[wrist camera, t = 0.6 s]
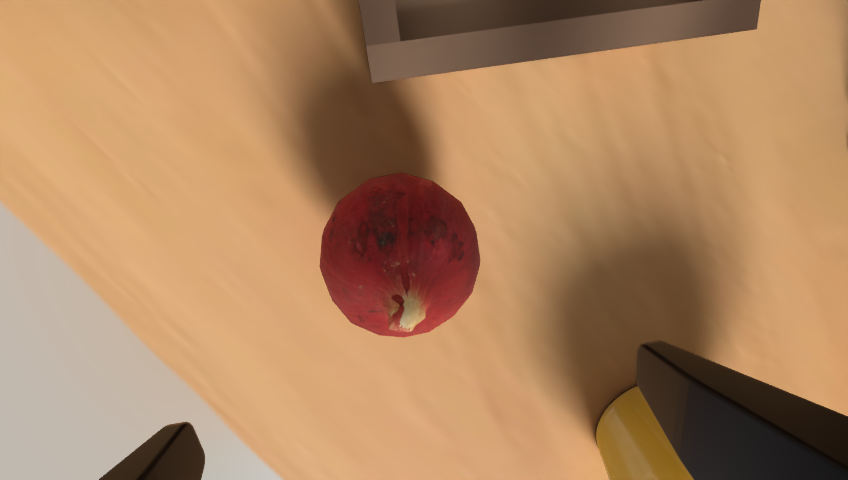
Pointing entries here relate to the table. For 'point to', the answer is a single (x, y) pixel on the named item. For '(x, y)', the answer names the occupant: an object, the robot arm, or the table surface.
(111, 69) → the table surface
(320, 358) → the table surface
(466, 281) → the onion
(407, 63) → the walnut base
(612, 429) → the plant pot
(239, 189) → the table surface
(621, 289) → the table surface
